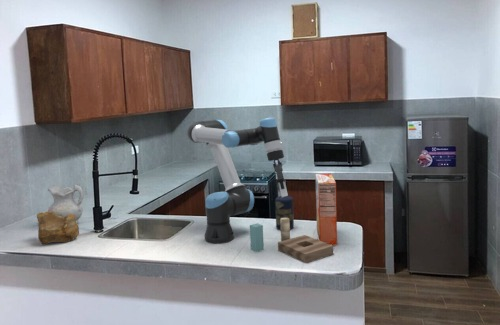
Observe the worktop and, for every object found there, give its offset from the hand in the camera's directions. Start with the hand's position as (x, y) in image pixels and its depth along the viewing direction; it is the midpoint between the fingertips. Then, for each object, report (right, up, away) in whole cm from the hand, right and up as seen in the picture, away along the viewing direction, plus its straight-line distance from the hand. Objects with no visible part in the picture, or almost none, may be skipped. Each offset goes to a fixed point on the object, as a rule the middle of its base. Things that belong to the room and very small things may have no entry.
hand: (284, 196), depth 208 cm
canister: (+3, -20, +37) cm, 42 cm away
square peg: (-13, -26, +6) cm, 29 cm away
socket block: (+9, -26, 0) cm, 27 cm away
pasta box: (+22, -22, +19) cm, 37 cm away
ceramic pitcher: (-124, -22, +63) cm, 141 cm away
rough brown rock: (-120, -27, +34) cm, 128 cm away
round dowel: (+1, -24, +14) cm, 28 cm away
